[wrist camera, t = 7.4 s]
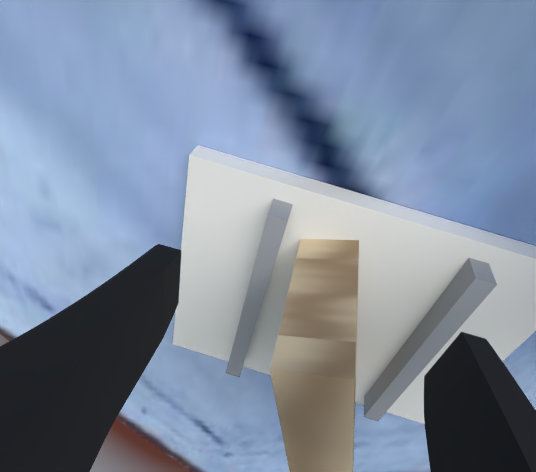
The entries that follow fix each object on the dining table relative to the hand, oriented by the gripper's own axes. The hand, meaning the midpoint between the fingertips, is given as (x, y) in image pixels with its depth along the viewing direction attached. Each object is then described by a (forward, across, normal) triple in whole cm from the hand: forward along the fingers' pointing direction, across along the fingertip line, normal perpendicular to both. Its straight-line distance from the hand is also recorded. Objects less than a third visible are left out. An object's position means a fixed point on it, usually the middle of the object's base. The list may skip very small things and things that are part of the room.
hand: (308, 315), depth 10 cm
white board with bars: (+10, -3, +10) cm, 15 cm away
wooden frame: (+9, -3, +10) cm, 13 cm away
